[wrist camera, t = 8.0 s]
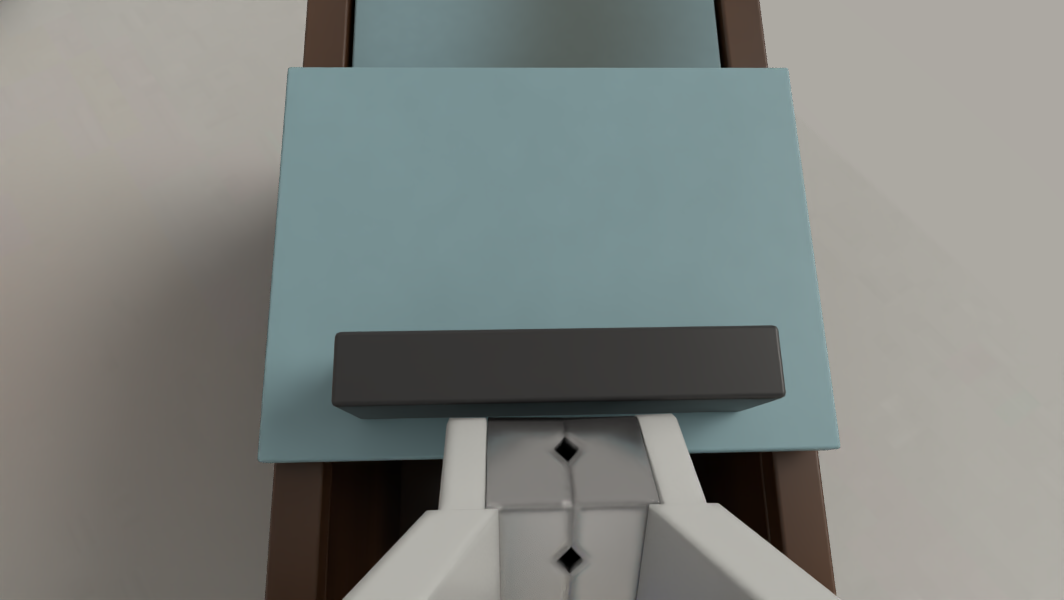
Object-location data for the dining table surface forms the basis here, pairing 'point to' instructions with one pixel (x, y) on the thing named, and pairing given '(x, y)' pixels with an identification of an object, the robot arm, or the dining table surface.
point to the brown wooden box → (519, 42)
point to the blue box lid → (541, 259)
